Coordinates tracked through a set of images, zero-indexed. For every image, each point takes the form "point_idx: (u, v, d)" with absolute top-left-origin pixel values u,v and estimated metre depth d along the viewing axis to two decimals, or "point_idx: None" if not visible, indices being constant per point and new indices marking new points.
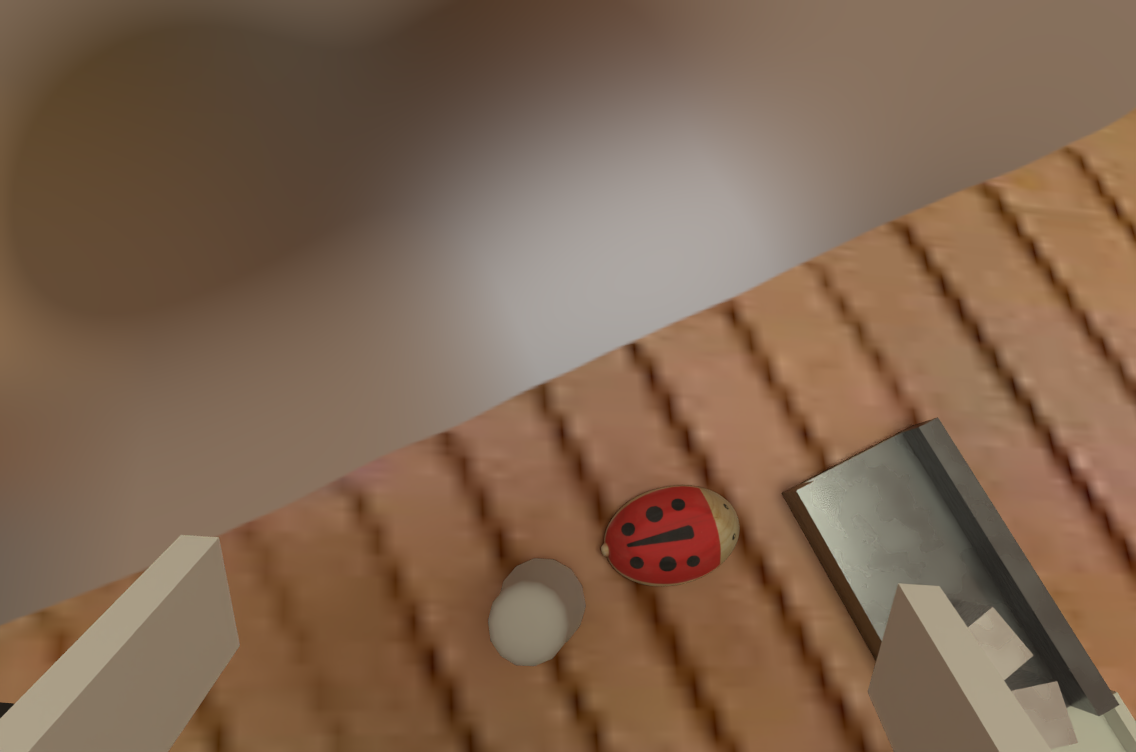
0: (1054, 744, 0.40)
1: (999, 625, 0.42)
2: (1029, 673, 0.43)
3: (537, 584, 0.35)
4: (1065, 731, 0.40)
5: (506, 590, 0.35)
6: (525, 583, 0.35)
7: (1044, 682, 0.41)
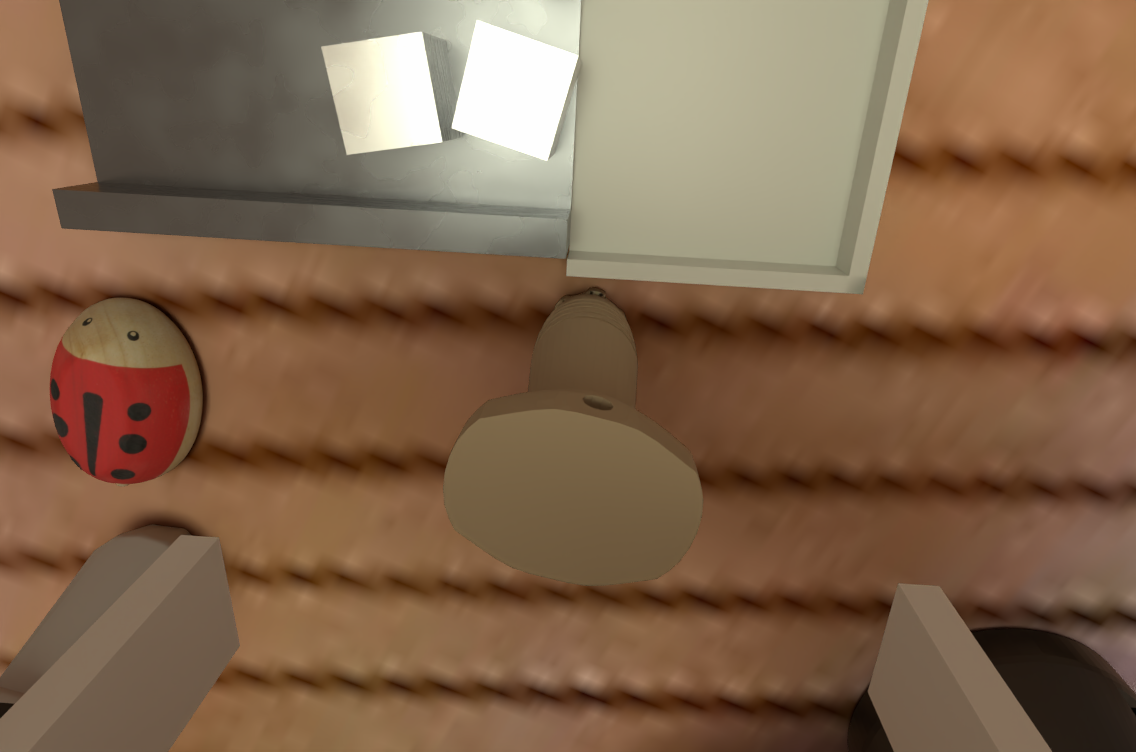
0: (560, 96, 0.23)
1: (354, 56, 0.23)
2: None
3: None
4: (552, 64, 0.22)
5: None
6: None
7: (472, 42, 0.22)
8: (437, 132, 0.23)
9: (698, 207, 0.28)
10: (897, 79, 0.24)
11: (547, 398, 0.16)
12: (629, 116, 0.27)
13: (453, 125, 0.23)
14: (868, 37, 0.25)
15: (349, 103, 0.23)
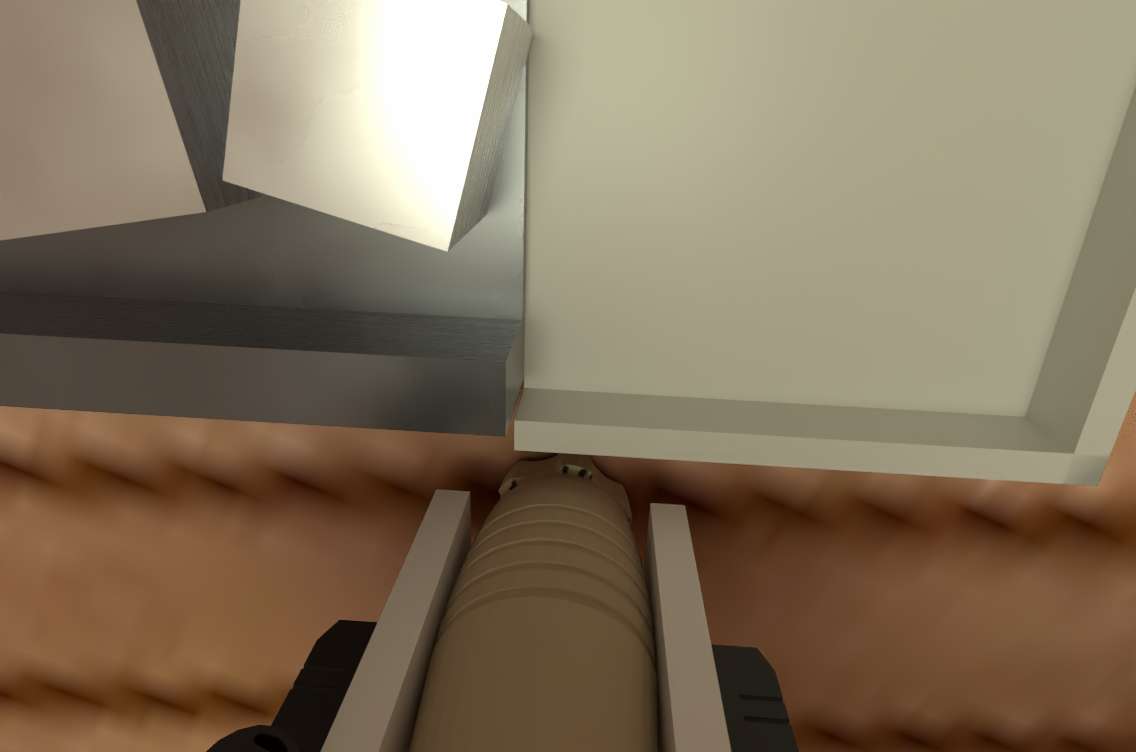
0: (469, 105, 0.09)
1: None
2: None
3: None
4: (445, 26, 0.09)
5: None
6: None
7: None
8: (192, 191, 0.10)
9: (767, 311, 0.14)
10: None
11: None
12: (633, 139, 0.13)
13: (226, 174, 0.10)
14: None
15: None
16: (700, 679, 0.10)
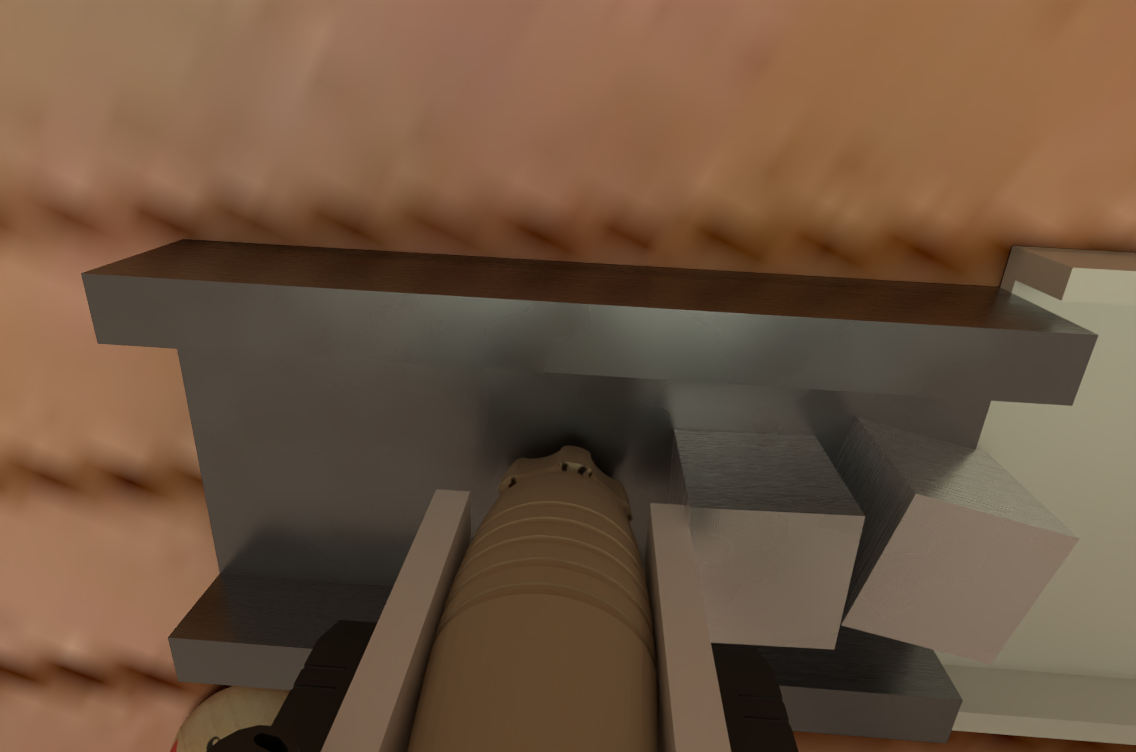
0: (1034, 588, 0.14)
1: (739, 528, 0.14)
2: (869, 445, 0.15)
3: None
4: (1031, 549, 0.14)
5: None
6: None
7: (897, 518, 0.14)
8: (832, 638, 0.15)
9: (1102, 618, 0.19)
10: None
11: None
12: None
13: (845, 622, 0.15)
14: None
15: (706, 582, 0.14)
16: (700, 679, 0.10)
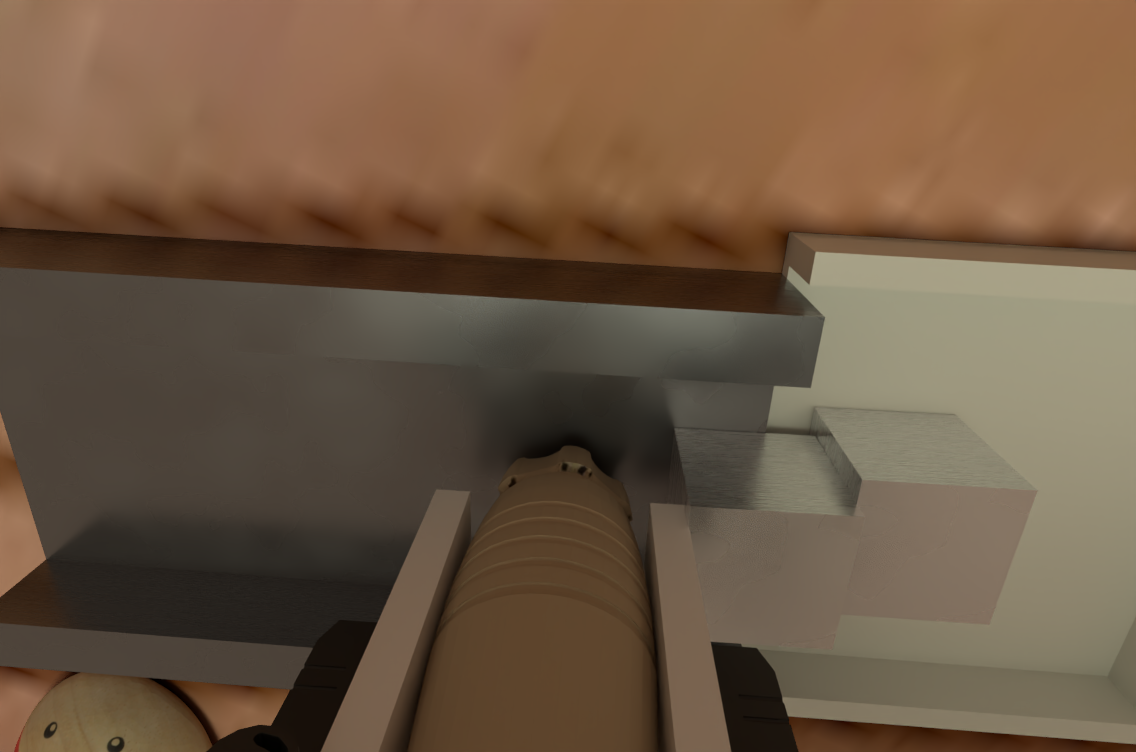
0: (1008, 545, 0.14)
1: (739, 527, 0.14)
2: (826, 434, 0.16)
3: None
4: (993, 508, 0.14)
5: None
6: None
7: None
8: (830, 638, 0.15)
9: None
10: None
11: None
12: None
13: None
14: None
15: (705, 581, 0.14)
16: (700, 679, 0.10)
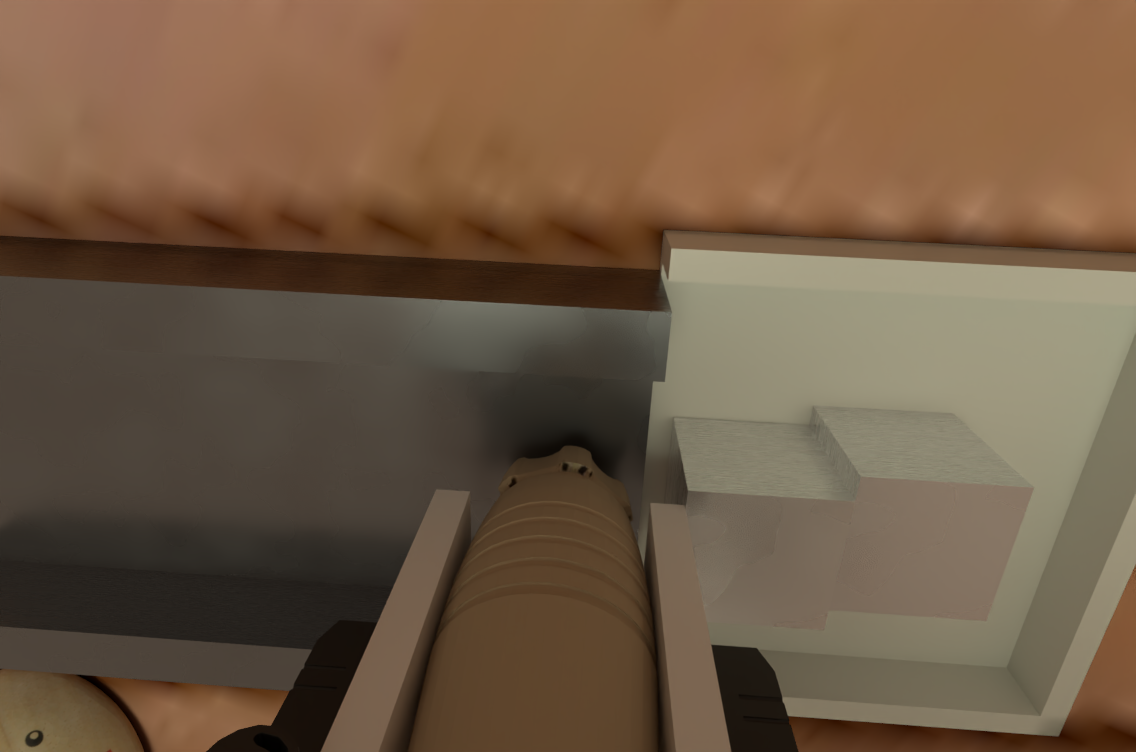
0: (1005, 542, 0.14)
1: (734, 511, 0.14)
2: (825, 432, 0.16)
3: None
4: (990, 506, 0.14)
5: None
6: None
7: None
8: (822, 619, 0.15)
9: None
10: None
11: None
12: None
13: (831, 606, 0.15)
14: (1087, 401, 0.17)
15: (702, 563, 0.15)
16: (700, 679, 0.10)
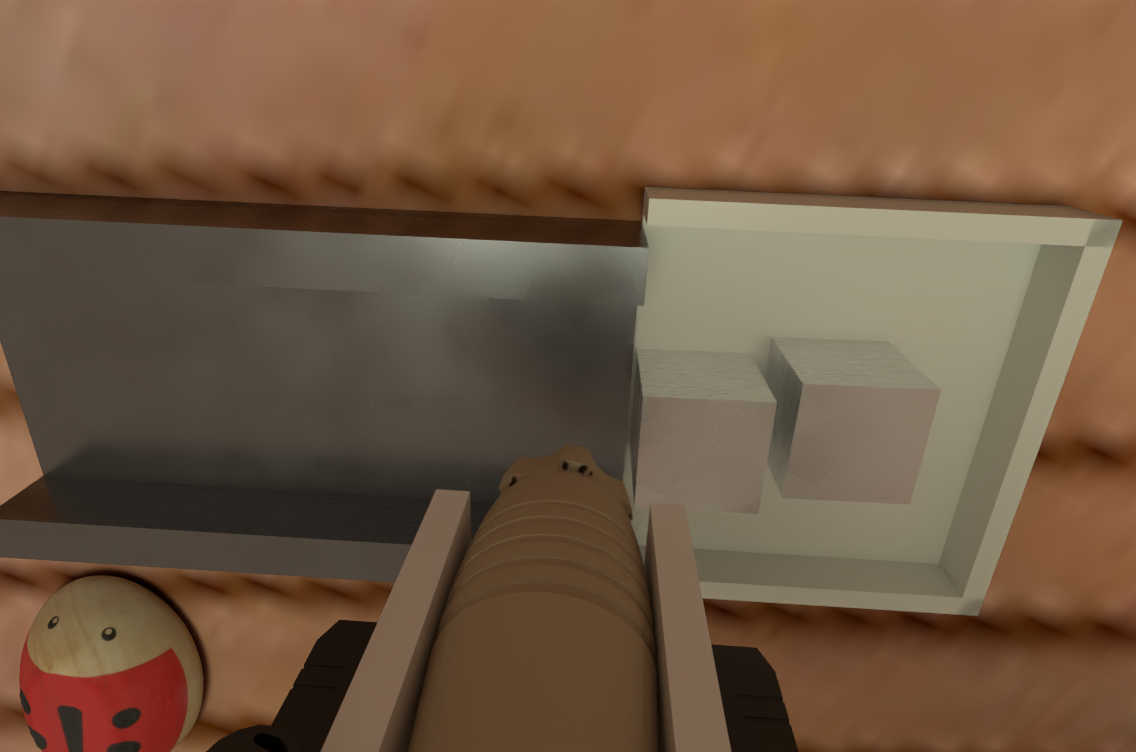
0: (921, 436, 0.18)
1: (681, 413, 0.18)
2: (780, 356, 0.20)
3: None
4: (907, 406, 0.17)
5: None
6: None
7: (797, 406, 0.18)
8: (756, 504, 0.19)
9: (774, 502, 0.23)
10: (1040, 399, 0.19)
11: None
12: None
13: (784, 495, 0.19)
14: (996, 329, 0.20)
15: (657, 458, 0.18)
16: (700, 679, 0.10)
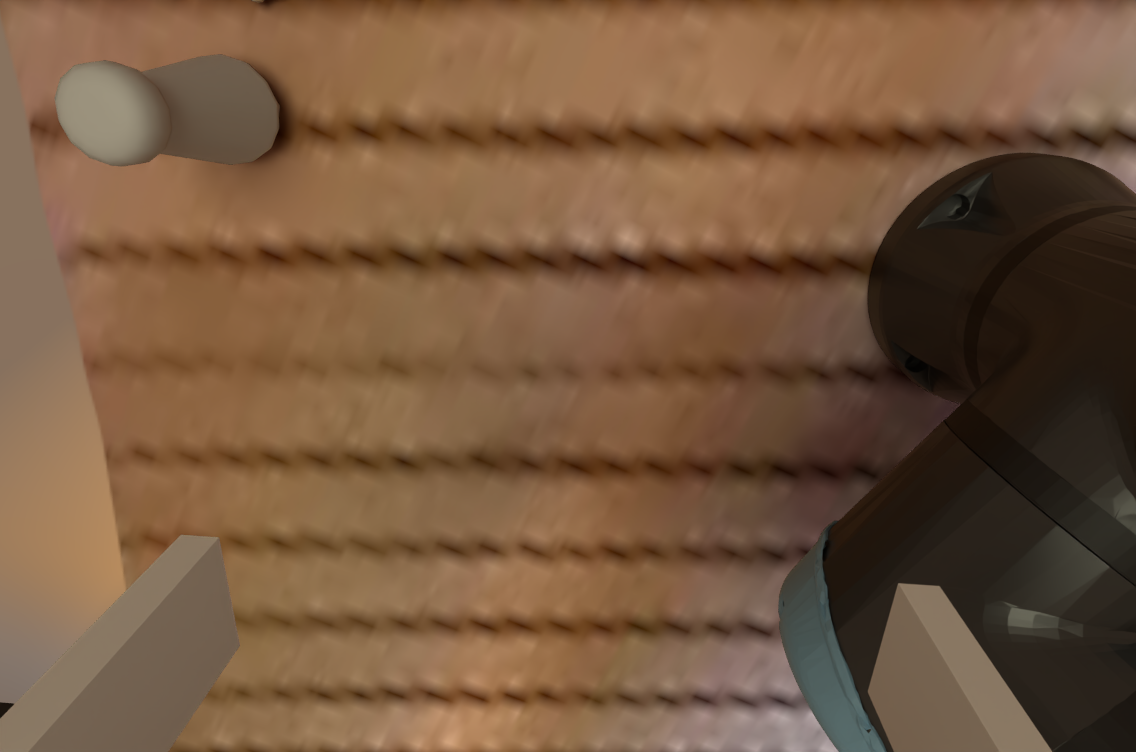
0: None
1: None
2: None
3: (61, 79, 0.28)
4: None
5: (59, 119, 0.29)
6: (57, 93, 0.29)
7: None
8: None
9: None
10: None
11: None
12: None
13: None
14: None
15: None
16: None
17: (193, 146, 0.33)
